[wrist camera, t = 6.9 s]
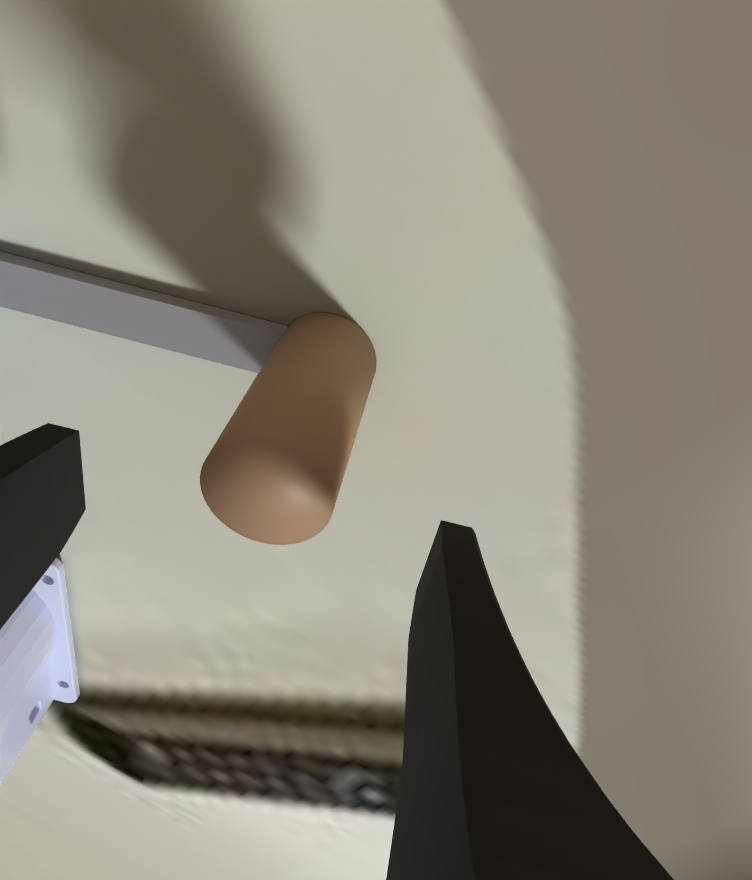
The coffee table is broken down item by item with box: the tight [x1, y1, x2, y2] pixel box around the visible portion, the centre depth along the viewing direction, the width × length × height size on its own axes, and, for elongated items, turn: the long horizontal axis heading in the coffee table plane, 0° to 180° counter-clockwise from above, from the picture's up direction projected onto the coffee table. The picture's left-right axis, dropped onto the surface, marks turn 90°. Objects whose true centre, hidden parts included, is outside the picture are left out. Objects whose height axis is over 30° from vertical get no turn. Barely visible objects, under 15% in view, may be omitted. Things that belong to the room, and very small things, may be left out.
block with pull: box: [0, 252, 376, 545], centre depth 15 cm, size 5×16×6 cm, turn 78°
